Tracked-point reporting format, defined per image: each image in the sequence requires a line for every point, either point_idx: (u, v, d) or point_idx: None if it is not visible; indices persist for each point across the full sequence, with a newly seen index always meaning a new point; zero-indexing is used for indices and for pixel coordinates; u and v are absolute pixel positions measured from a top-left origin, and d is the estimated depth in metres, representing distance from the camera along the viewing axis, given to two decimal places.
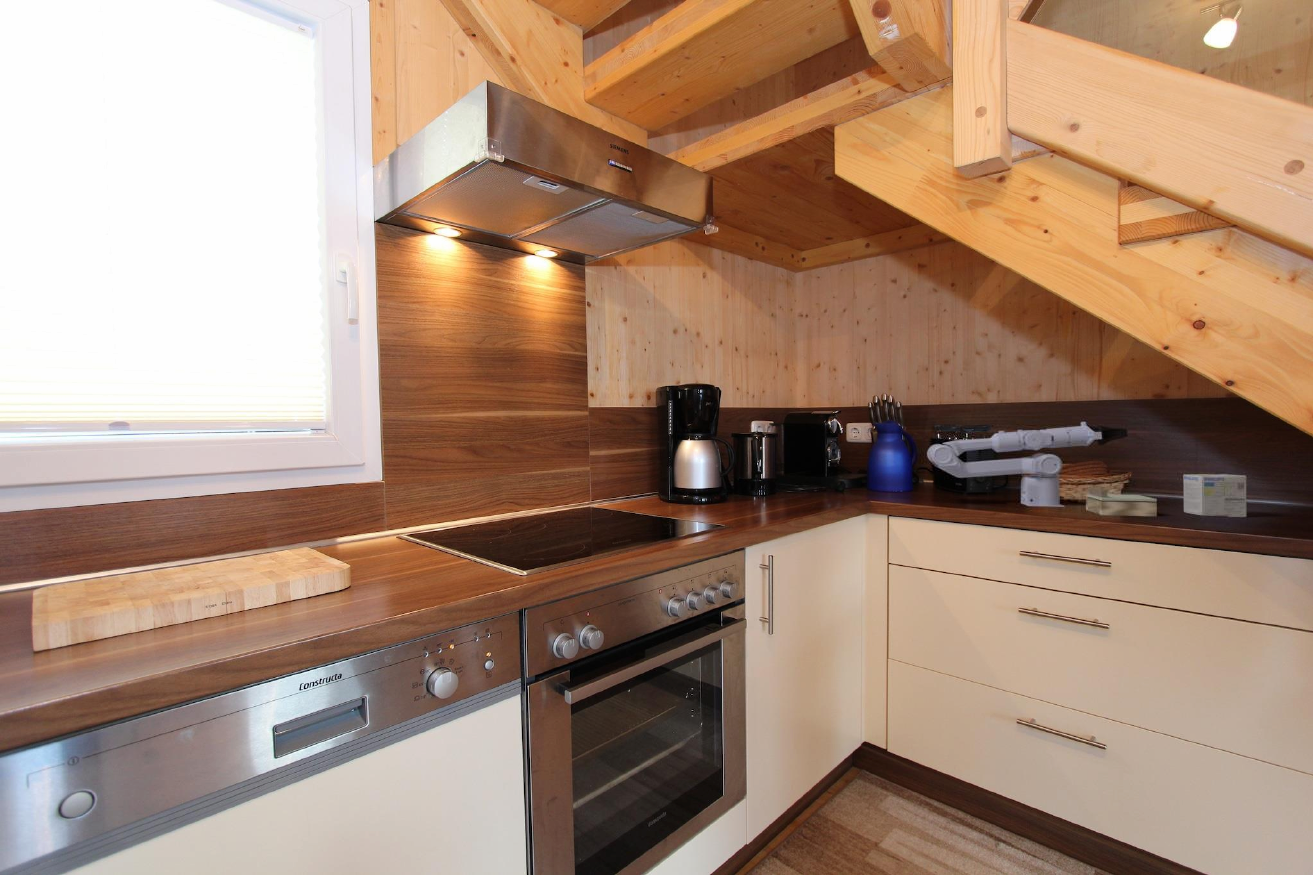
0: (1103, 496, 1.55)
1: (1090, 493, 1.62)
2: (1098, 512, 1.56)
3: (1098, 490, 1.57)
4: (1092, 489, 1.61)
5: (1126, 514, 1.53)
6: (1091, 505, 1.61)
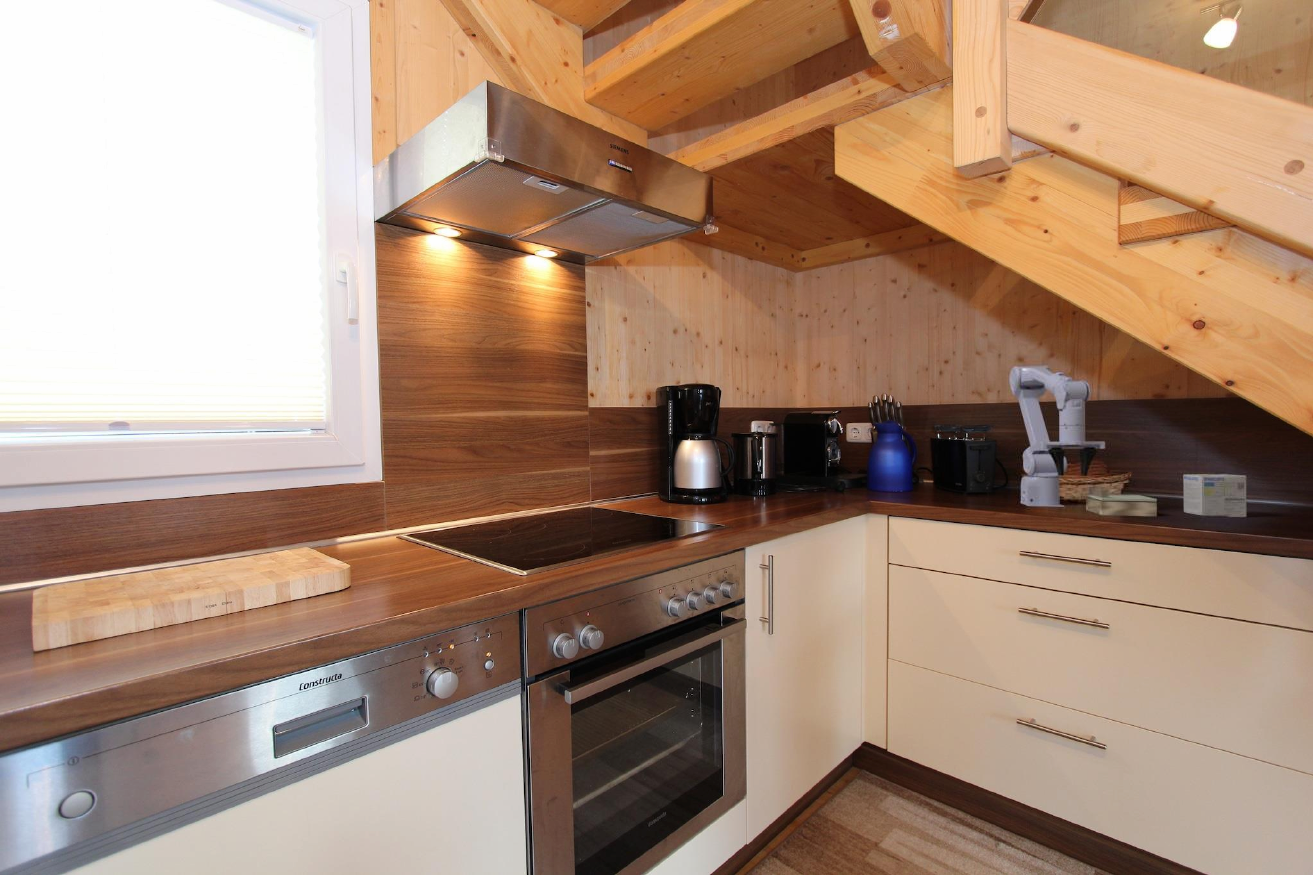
0: (1103, 496, 1.55)
1: (1090, 493, 1.62)
2: (1098, 512, 1.56)
3: (1098, 490, 1.57)
4: (1092, 489, 1.61)
5: (1126, 514, 1.53)
6: (1091, 505, 1.61)
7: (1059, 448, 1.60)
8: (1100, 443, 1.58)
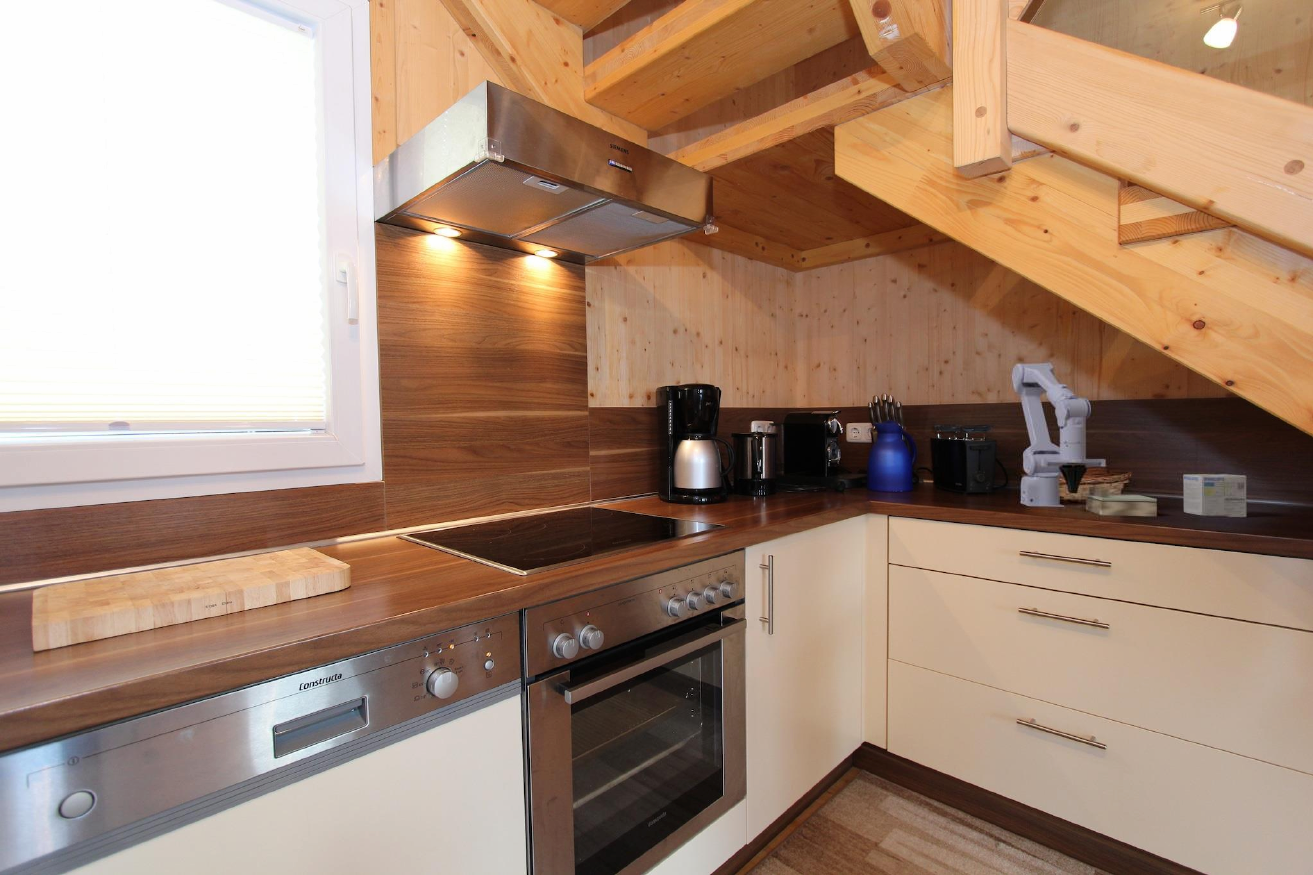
0: (1103, 496, 1.55)
1: (1090, 493, 1.62)
2: (1098, 512, 1.56)
3: (1098, 490, 1.57)
4: (1092, 489, 1.61)
5: (1126, 514, 1.53)
6: (1091, 505, 1.61)
7: (1070, 466, 1.60)
8: (1101, 461, 1.58)
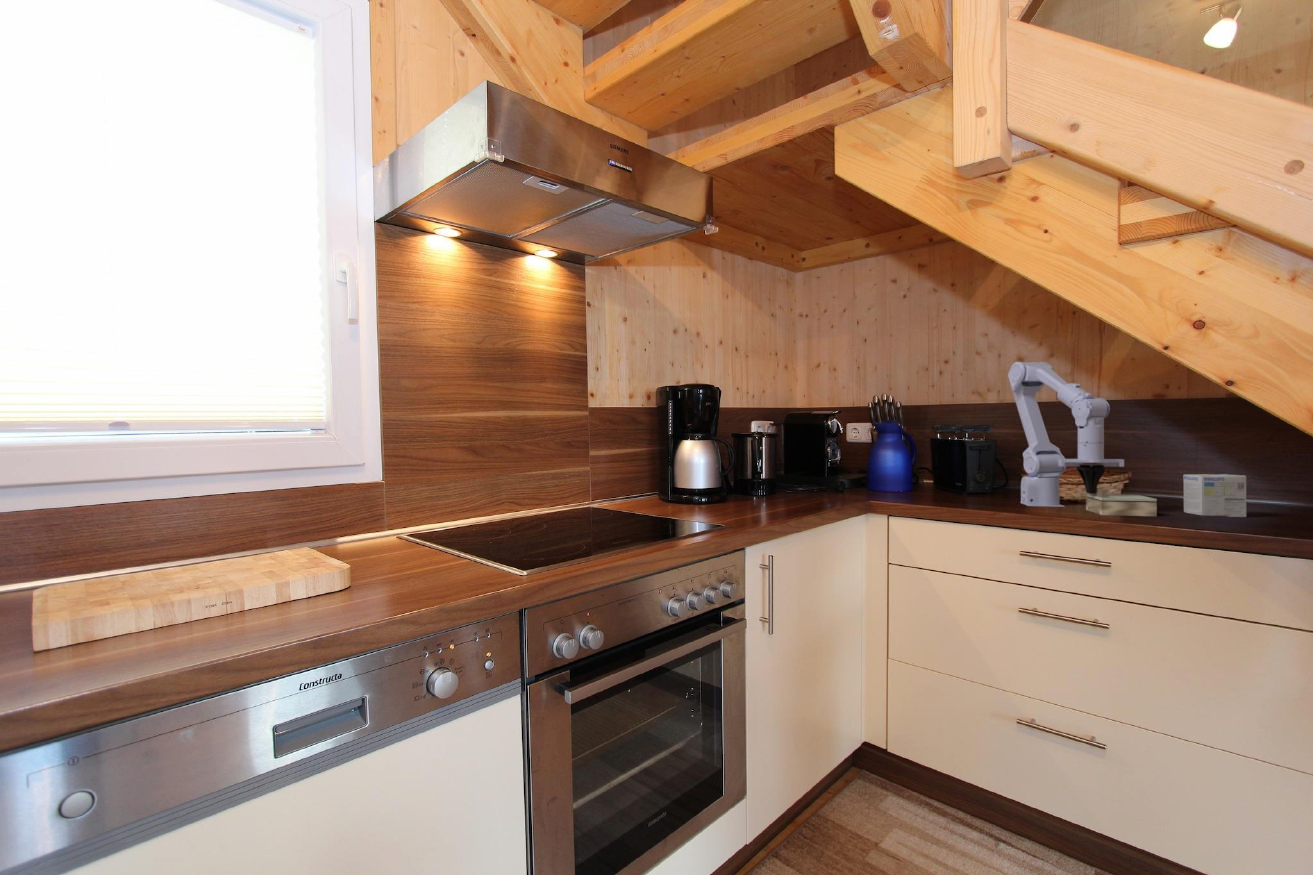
0: (1103, 496, 1.55)
1: None
2: (1098, 512, 1.56)
3: (1098, 490, 1.57)
4: None
5: (1126, 514, 1.53)
6: (1091, 505, 1.61)
7: (1088, 466, 1.59)
8: (1119, 461, 1.56)
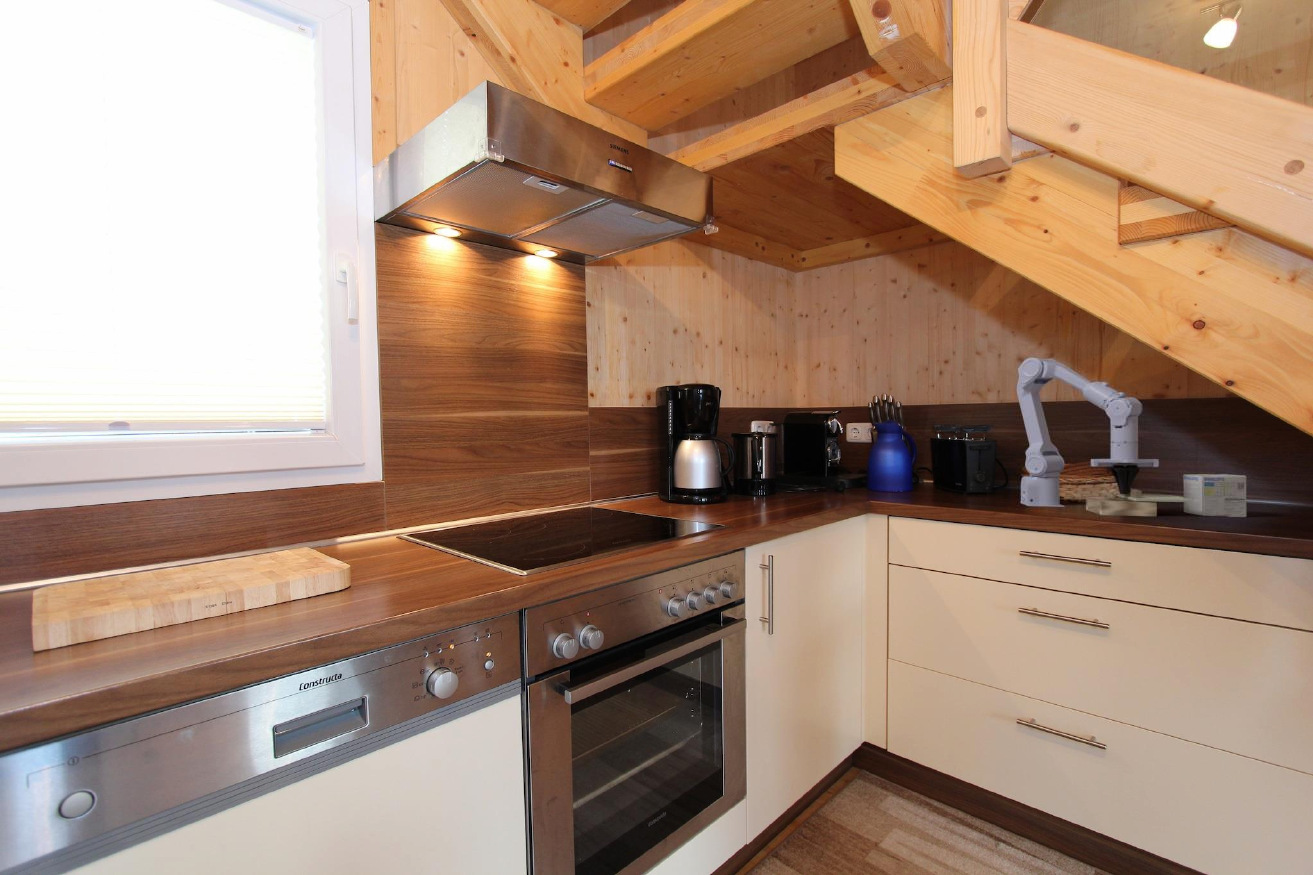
0: (1137, 497, 1.53)
1: (1123, 494, 1.60)
2: (1098, 512, 1.56)
3: (1132, 490, 1.55)
4: None
5: (1126, 514, 1.53)
6: (1091, 505, 1.61)
7: (1122, 466, 1.57)
8: (1154, 461, 1.54)
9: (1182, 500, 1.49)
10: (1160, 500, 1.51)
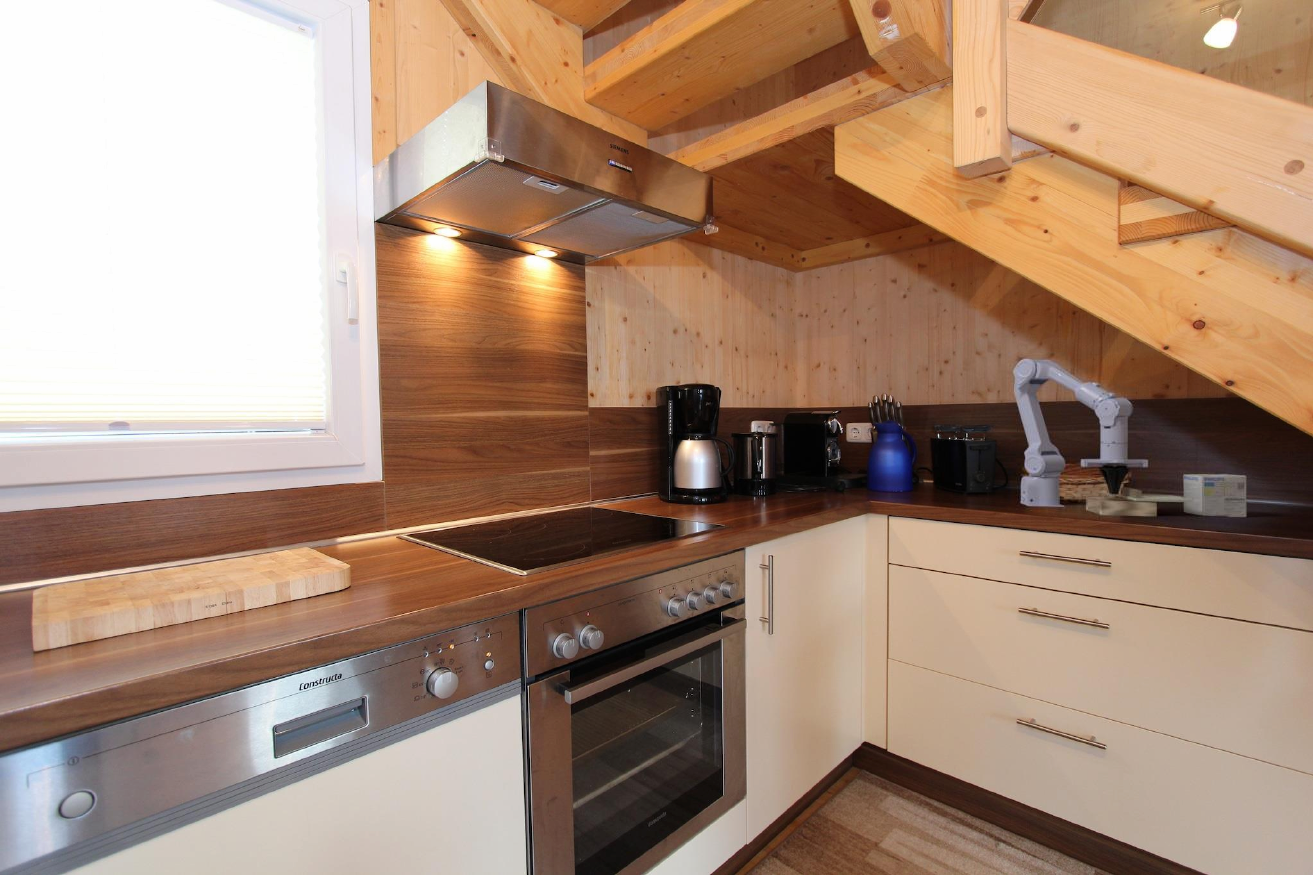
0: (1137, 497, 1.53)
1: (1123, 494, 1.60)
2: (1098, 512, 1.56)
3: (1132, 490, 1.55)
4: (1125, 489, 1.59)
5: (1126, 514, 1.53)
6: (1091, 505, 1.61)
7: (1111, 466, 1.57)
8: (1143, 461, 1.55)
9: (1182, 500, 1.49)
10: (1160, 500, 1.51)
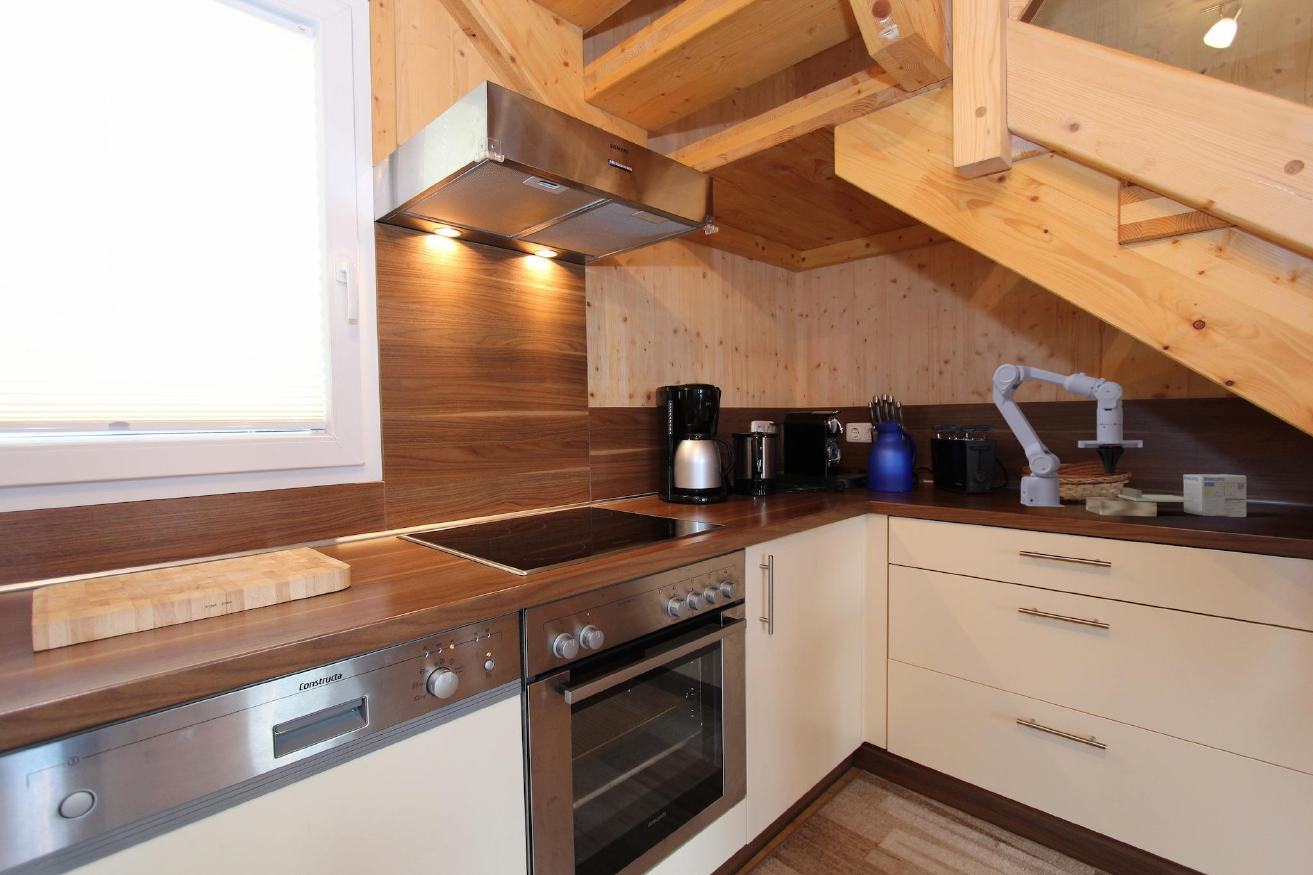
0: (1137, 497, 1.53)
1: (1123, 494, 1.60)
2: (1098, 512, 1.56)
3: (1132, 490, 1.55)
4: (1125, 489, 1.59)
5: (1126, 514, 1.53)
6: (1091, 505, 1.61)
7: (1107, 447, 1.64)
8: (1138, 442, 1.62)
9: (1182, 500, 1.49)
10: (1160, 500, 1.51)
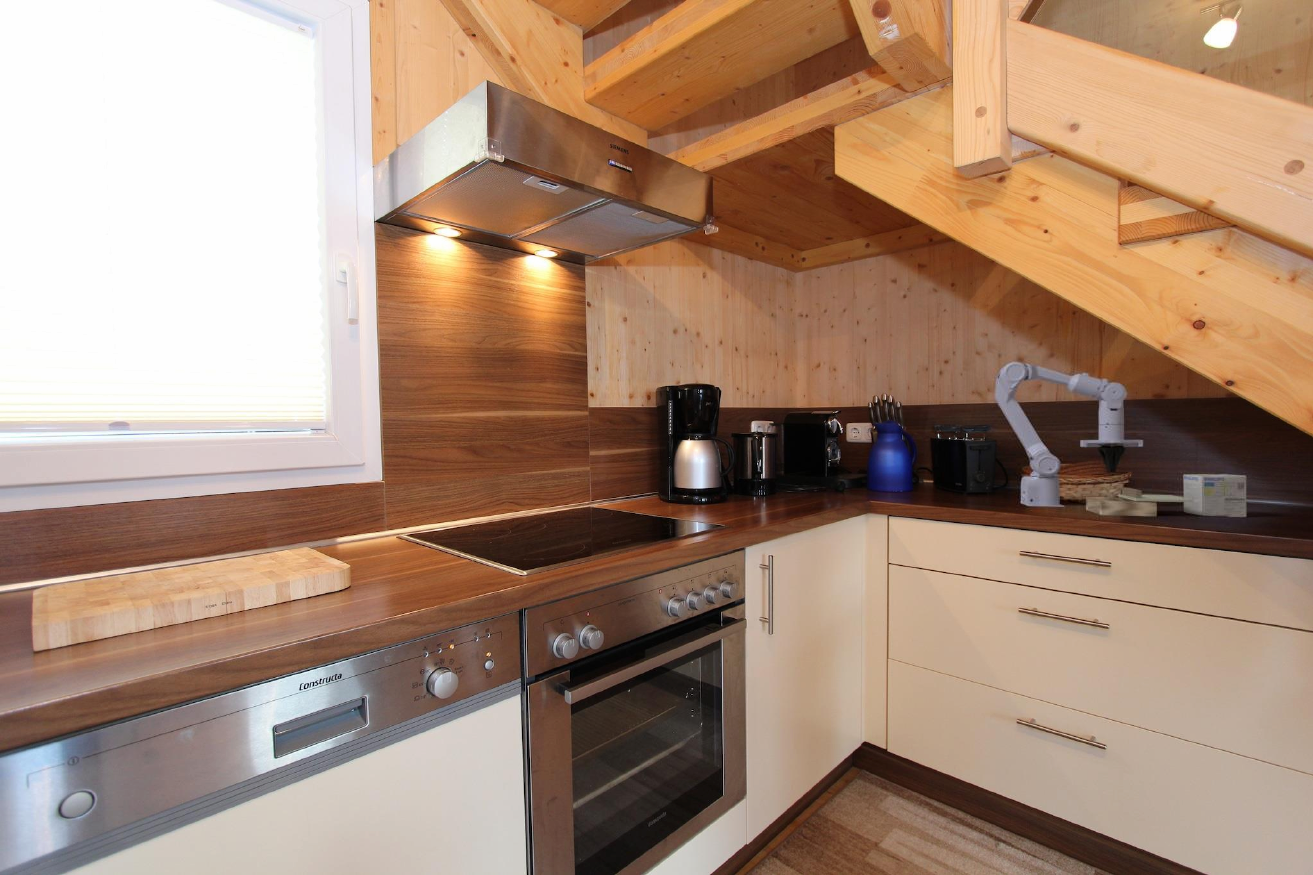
0: (1137, 497, 1.53)
1: (1123, 494, 1.60)
2: (1098, 512, 1.56)
3: (1132, 490, 1.55)
4: (1125, 489, 1.59)
5: (1126, 514, 1.53)
6: (1091, 505, 1.61)
7: (1108, 446, 1.68)
8: (1138, 441, 1.66)
9: (1182, 500, 1.49)
10: (1160, 500, 1.51)
